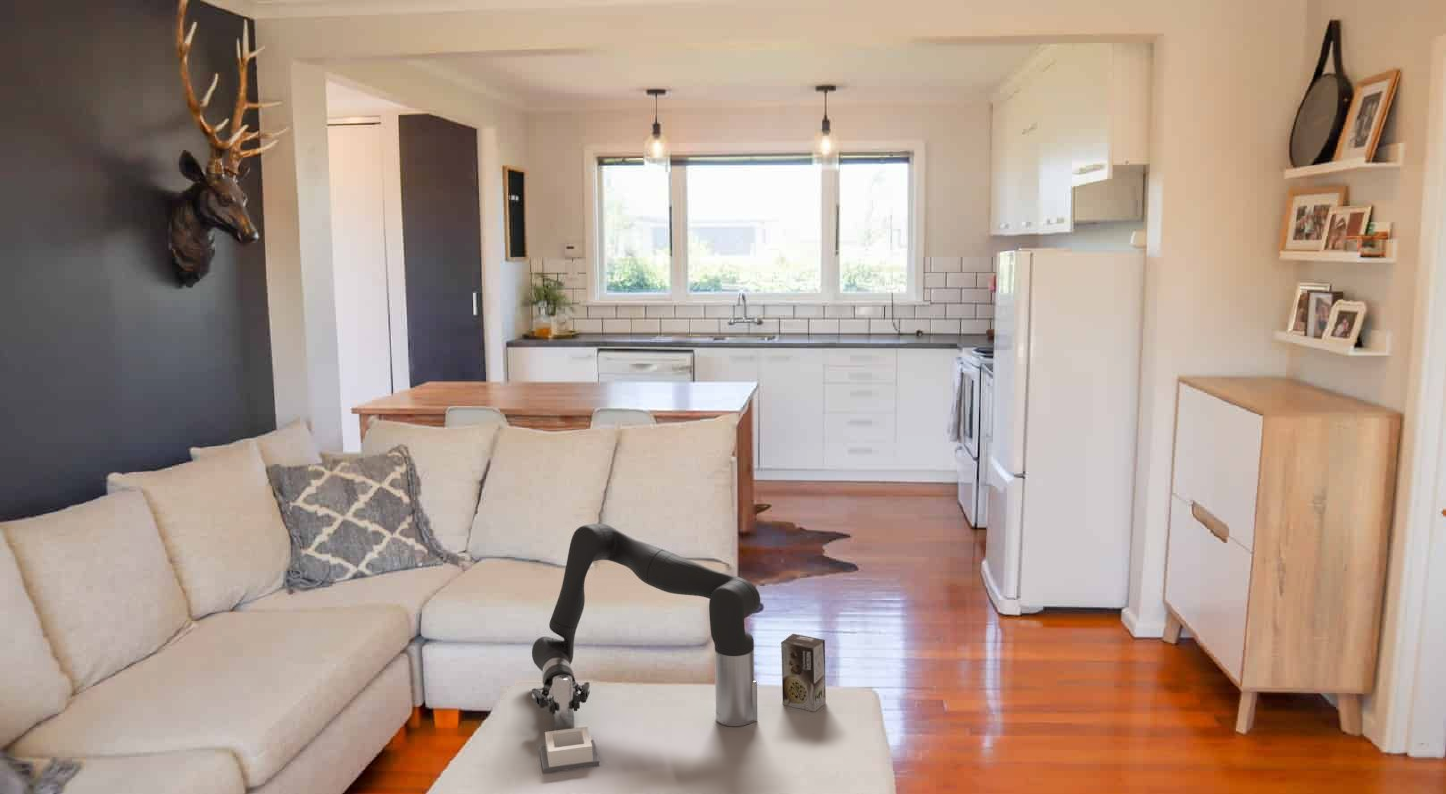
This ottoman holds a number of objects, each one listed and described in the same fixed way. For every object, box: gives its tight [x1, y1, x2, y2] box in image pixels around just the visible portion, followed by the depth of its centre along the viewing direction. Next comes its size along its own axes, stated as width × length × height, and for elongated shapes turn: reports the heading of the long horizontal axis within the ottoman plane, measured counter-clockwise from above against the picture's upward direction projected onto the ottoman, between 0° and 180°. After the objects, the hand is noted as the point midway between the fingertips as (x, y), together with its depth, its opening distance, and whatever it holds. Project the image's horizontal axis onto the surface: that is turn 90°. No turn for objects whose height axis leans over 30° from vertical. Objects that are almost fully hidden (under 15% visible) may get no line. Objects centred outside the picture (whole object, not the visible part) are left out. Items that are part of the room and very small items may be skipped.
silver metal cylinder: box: [553, 675, 575, 731], centre depth 234 cm, size 4×4×14 cm
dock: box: [539, 726, 600, 774], centre depth 225 cm, size 12×10×4 cm
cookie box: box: [780, 633, 827, 713], centre depth 249 cm, size 9×6×16 cm
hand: (564, 708), depth 232 cm, fingers closed on silver metal cylinder, 4 cm apart
